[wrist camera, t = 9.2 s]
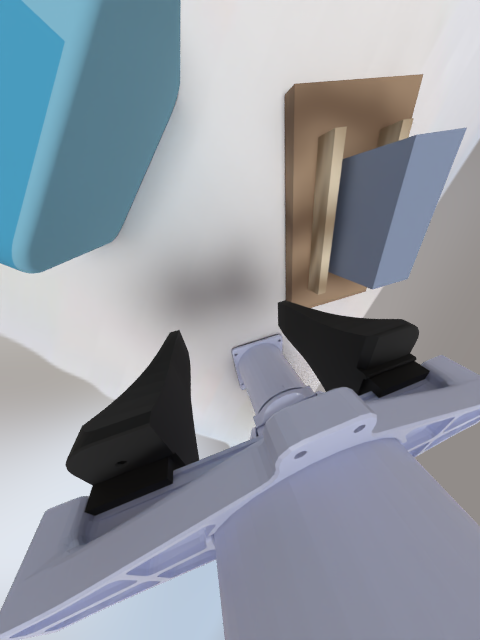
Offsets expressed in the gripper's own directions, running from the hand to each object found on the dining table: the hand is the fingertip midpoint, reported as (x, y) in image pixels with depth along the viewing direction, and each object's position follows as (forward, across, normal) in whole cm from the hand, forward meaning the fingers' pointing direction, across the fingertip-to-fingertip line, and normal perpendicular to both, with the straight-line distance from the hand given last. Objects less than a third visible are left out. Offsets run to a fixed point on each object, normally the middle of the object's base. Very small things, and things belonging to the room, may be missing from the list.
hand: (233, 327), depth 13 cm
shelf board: (+9, -15, -4) cm, 18 cm away
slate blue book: (+8, -15, -4) cm, 18 cm away
